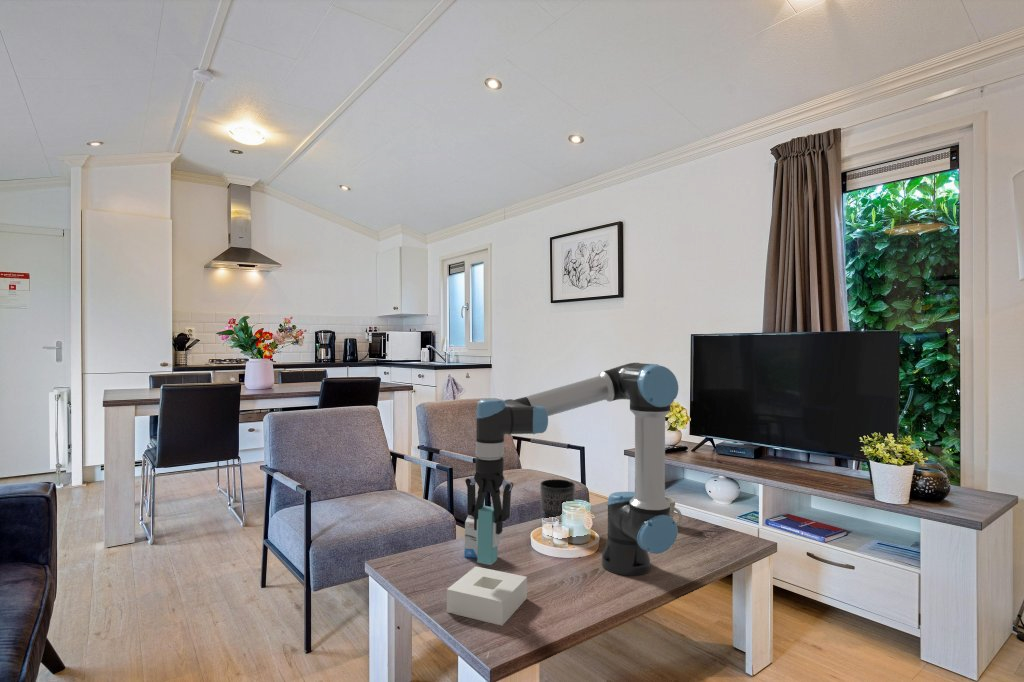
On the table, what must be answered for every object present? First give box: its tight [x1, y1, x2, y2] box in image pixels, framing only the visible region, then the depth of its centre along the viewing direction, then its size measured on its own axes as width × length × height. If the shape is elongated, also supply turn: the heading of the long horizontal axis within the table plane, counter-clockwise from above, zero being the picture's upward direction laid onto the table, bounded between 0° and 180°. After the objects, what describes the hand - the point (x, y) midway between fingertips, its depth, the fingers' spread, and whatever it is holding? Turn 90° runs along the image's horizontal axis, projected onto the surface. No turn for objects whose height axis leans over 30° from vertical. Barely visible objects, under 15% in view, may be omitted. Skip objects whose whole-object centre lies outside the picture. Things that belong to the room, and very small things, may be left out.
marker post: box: [476, 505, 499, 566], centre depth 149 cm, size 4×4×14 cm
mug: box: [665, 496, 683, 526], centre depth 213 cm, size 8×13×10 cm, turn 40°
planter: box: [539, 478, 576, 519], centre depth 207 cm, size 13×13×18 cm
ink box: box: [463, 514, 478, 559], centre depth 183 cm, size 9×5×15 cm, turn 84°
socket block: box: [446, 566, 528, 626], centre depth 149 cm, size 16×16×6 cm
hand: (487, 543), depth 149 cm, fingers closed on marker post, 4 cm apart
